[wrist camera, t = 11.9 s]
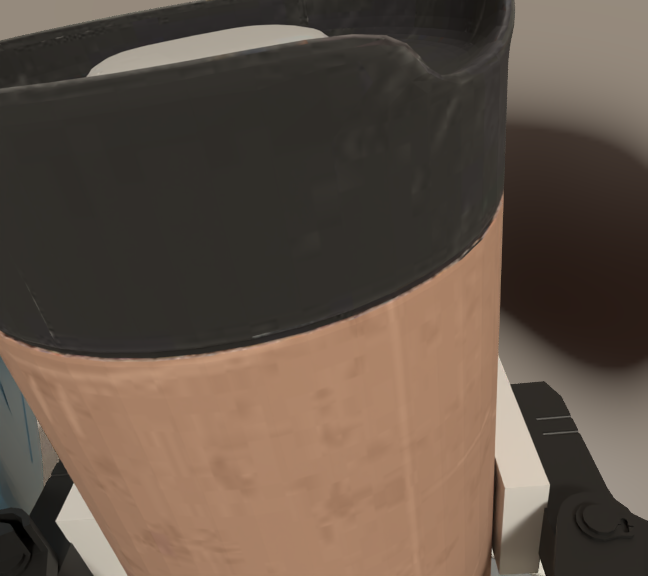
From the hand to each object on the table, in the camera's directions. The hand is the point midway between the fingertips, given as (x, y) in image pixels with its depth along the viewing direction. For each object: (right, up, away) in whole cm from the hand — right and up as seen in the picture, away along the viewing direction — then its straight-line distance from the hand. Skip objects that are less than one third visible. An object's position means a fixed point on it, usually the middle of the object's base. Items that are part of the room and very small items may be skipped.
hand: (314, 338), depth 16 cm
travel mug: (+1, -12, +2) cm, 12 cm away
